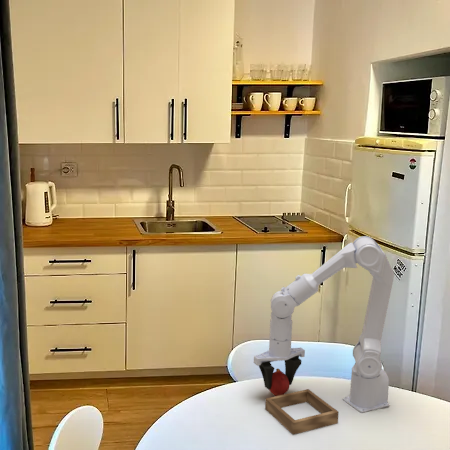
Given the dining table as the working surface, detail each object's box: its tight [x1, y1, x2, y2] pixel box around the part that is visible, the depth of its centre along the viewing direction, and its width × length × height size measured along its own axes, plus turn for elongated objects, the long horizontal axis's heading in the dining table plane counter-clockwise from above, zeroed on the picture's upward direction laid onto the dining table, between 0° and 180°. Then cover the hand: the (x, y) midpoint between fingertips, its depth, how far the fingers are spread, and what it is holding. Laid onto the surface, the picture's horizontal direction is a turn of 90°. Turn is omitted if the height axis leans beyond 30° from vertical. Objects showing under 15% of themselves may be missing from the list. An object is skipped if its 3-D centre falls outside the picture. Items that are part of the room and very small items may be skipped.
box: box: [264, 388, 340, 436], centre depth 147 cm, size 13×13×3 cm
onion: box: [268, 368, 290, 397], centre depth 156 cm, size 6×6×8 cm
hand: (278, 385), depth 156 cm, fingers closed on onion, 6 cm apart
